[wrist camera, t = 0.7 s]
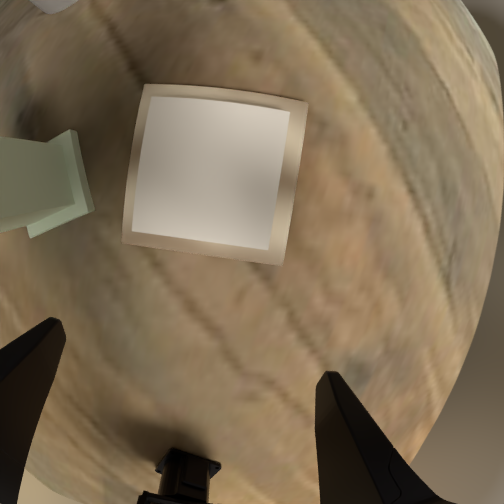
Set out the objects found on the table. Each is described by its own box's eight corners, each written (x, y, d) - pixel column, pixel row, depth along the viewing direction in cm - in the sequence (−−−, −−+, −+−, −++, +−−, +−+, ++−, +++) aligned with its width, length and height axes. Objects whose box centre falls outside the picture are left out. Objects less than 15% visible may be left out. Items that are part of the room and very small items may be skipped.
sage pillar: (95, 210, 21) (-25, 242, 8) (37, 235, 21) (-71, 277, 8) (76, 131, 19) (-40, 104, 6) (21, 164, 19) (-88, 167, 7)
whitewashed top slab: (265, 244, 21) (268, 250, 19) (141, 226, 20) (131, 231, 18) (285, 118, 19) (290, 111, 17) (159, 104, 18) (151, 96, 16)
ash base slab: (278, 259, 23) (282, 266, 21) (130, 238, 22) (121, 243, 20) (302, 109, 21) (308, 102, 19) (151, 91, 20) (144, 83, 18)
